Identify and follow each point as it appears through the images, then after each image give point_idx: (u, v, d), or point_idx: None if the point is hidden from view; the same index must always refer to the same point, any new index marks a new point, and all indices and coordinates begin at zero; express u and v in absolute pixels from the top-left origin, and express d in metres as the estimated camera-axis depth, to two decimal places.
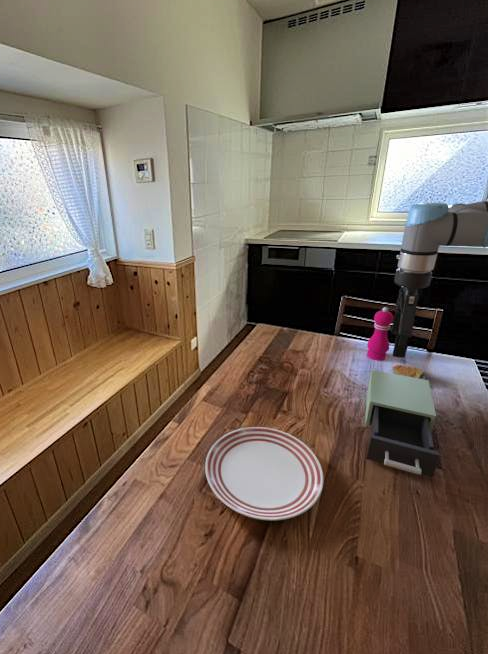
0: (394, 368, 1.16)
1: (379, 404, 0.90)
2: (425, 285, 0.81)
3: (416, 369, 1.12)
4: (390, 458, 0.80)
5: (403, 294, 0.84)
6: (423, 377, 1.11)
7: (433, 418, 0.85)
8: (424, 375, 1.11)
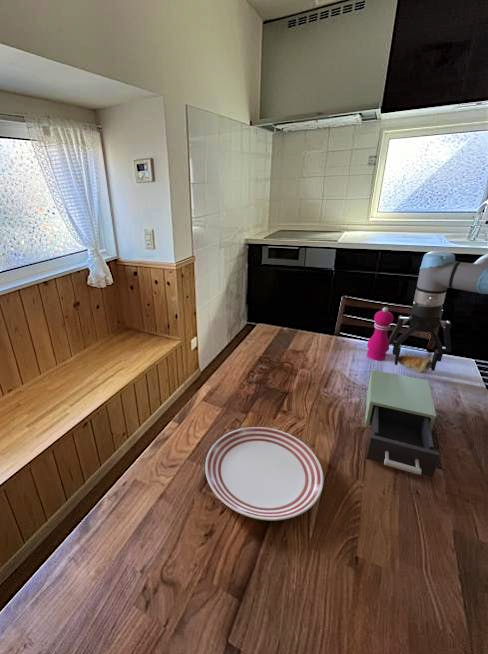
0: (399, 358, 1.13)
1: (379, 404, 0.90)
2: None
3: (421, 358, 1.09)
4: (390, 458, 0.80)
5: (431, 323, 1.03)
6: (429, 366, 1.09)
7: (433, 418, 0.85)
8: (430, 364, 1.09)
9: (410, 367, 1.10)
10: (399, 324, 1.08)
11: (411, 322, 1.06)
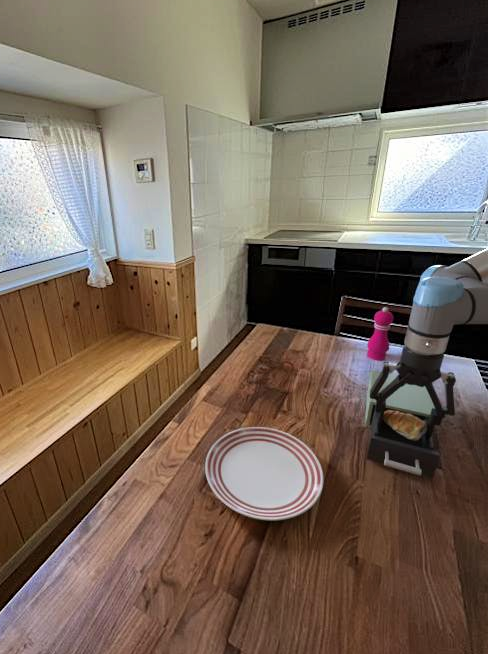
0: (384, 415, 0.84)
1: None
2: None
3: (414, 419, 0.80)
4: (390, 458, 0.80)
5: (428, 376, 0.74)
6: (424, 430, 0.80)
7: None
8: (425, 427, 0.80)
9: (398, 431, 0.81)
10: (384, 374, 0.78)
11: (400, 372, 0.77)
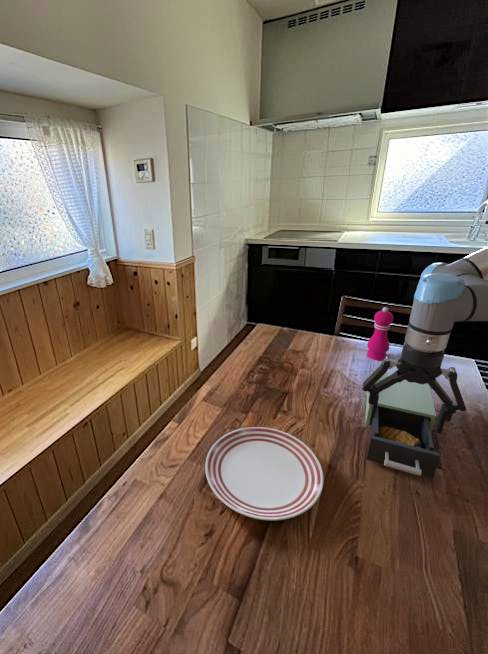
0: (379, 432, 0.87)
1: (379, 404, 0.90)
2: None
3: (408, 436, 0.83)
4: (390, 459, 0.80)
5: (428, 374, 0.74)
6: None
7: (433, 418, 0.85)
8: (418, 445, 0.82)
9: None
10: (383, 368, 0.78)
11: (401, 370, 0.76)
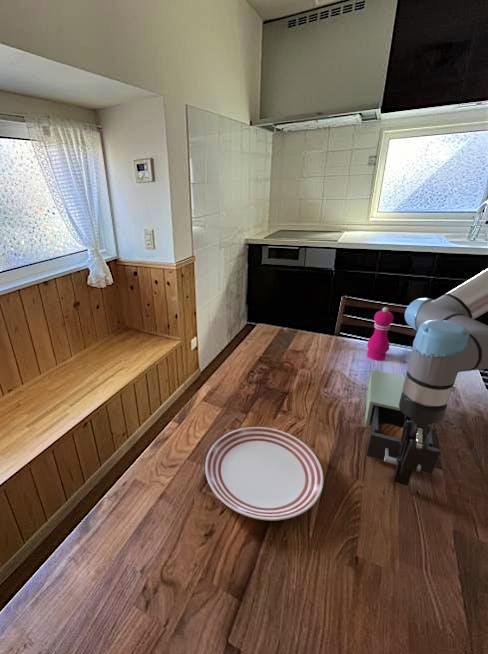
0: (379, 428, 0.88)
1: (379, 404, 0.90)
2: None
3: None
4: (390, 455, 0.81)
5: None
6: None
7: None
8: None
9: None
10: None
11: None
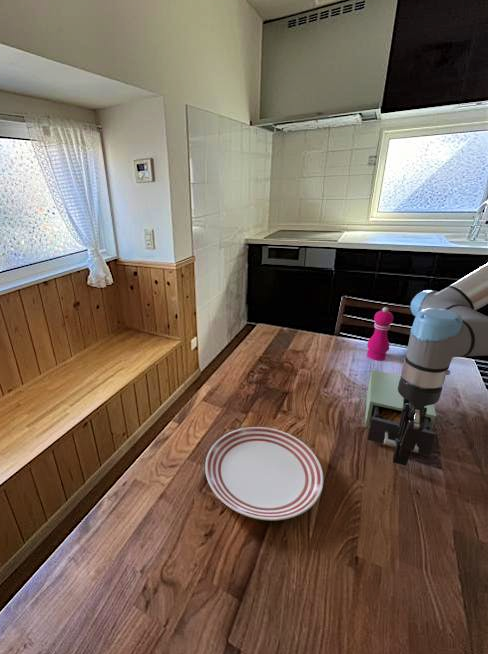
0: (379, 414, 0.92)
1: (379, 404, 0.90)
2: None
3: None
4: (389, 438, 0.86)
5: None
6: None
7: (433, 418, 0.85)
8: None
9: None
10: None
11: None
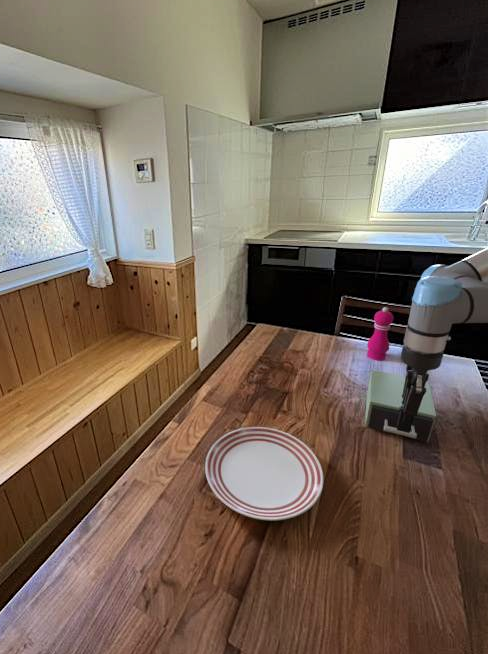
0: None
1: (379, 404, 0.90)
2: None
3: None
4: (389, 426, 0.90)
5: None
6: None
7: (433, 418, 0.85)
8: None
9: None
10: (423, 394, 0.73)
11: None
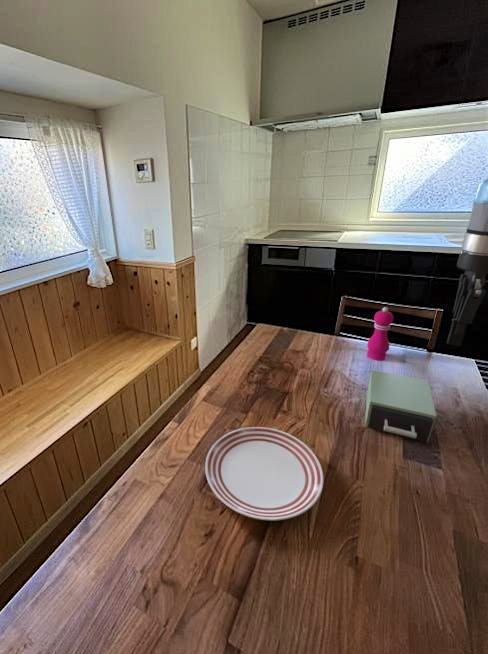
0: None
1: (379, 404, 0.90)
2: None
3: None
4: (389, 426, 0.90)
5: None
6: None
7: (433, 418, 0.85)
8: None
9: None
10: None
11: None
